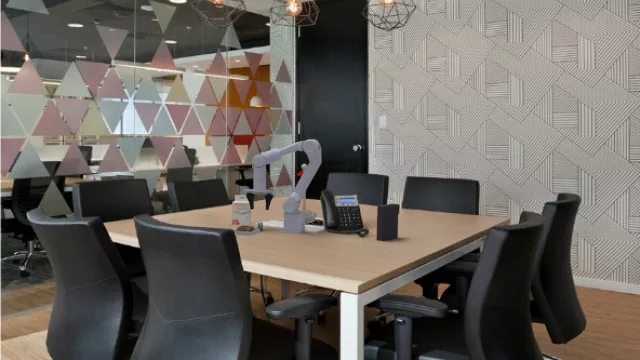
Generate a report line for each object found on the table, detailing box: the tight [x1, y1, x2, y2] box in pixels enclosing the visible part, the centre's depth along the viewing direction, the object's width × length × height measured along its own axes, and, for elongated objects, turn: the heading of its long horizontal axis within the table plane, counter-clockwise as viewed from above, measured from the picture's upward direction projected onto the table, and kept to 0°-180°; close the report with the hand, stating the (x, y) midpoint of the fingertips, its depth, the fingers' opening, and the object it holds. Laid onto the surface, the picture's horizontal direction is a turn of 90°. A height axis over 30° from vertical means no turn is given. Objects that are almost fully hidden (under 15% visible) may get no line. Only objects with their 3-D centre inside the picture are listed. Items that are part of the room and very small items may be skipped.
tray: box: [234, 227, 261, 236], centre depth 252 cm, size 10×10×2 cm
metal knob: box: [257, 222, 267, 232], centre depth 260 cm, size 5×5×4 cm
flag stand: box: [296, 163, 318, 225], centre depth 287 cm, size 13×13×30 cm
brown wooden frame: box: [236, 225, 255, 232], centre depth 253 cm, size 7×6×3 cm
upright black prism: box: [376, 203, 400, 242], centre depth 243 cm, size 11×4×15 cm, turn 134°
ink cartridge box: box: [231, 194, 252, 226], centre depth 277 cm, size 9×5×15 cm, turn 84°
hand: (259, 209), depth 261 cm, fingers open, 7 cm apart
